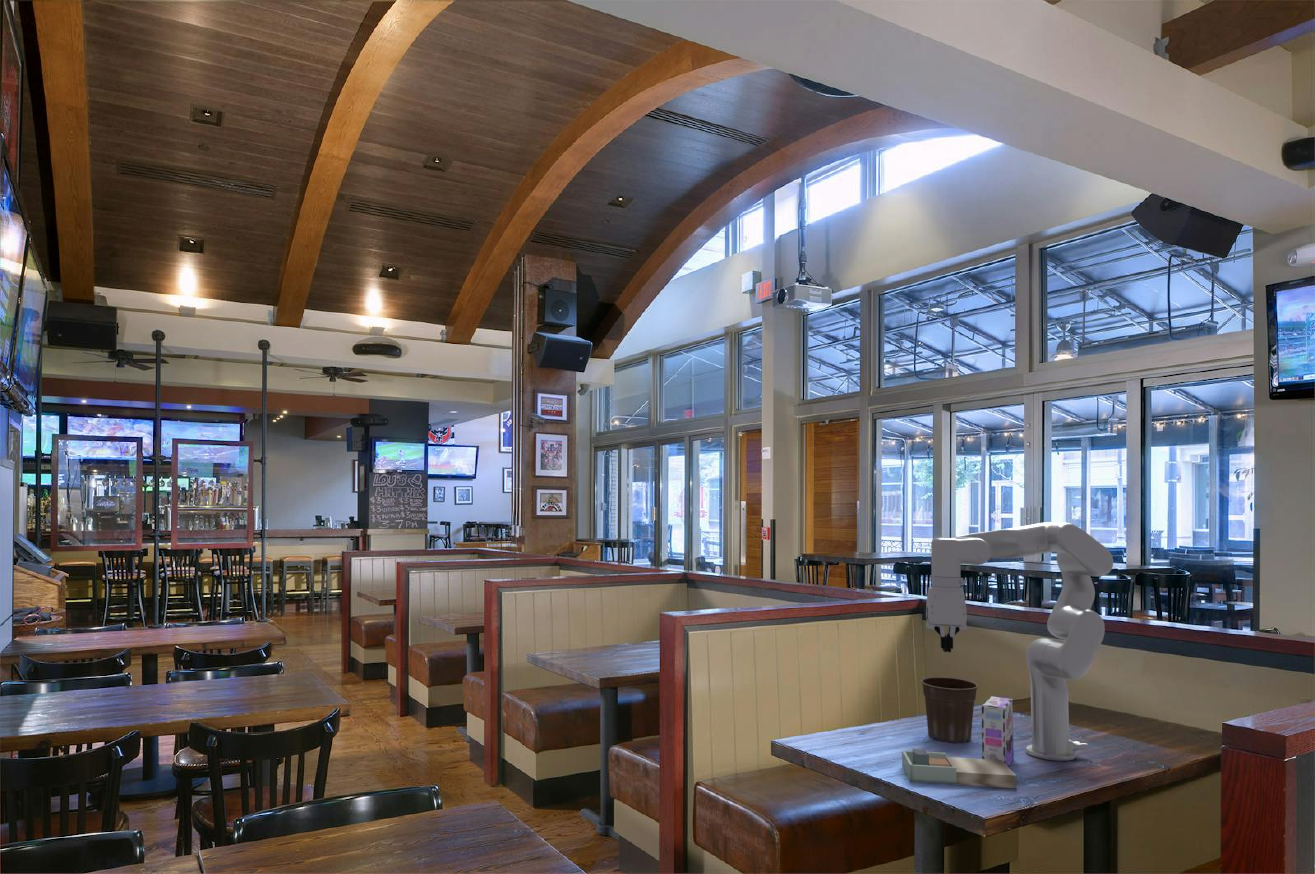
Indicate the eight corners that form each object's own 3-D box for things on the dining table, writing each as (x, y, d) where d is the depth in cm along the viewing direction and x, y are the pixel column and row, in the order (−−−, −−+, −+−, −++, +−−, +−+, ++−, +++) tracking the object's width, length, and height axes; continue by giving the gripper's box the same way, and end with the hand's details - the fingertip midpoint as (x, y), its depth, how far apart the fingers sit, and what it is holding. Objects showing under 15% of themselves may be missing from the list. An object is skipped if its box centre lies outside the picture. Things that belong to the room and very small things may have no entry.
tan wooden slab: (1001, 771, 217) (1001, 759, 218) (1016, 787, 205) (1015, 775, 205) (945, 768, 219) (945, 756, 220) (956, 784, 206) (956, 771, 207)
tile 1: (924, 749, 217) (912, 748, 217) (928, 754, 212) (916, 754, 212) (924, 769, 216) (912, 768, 217) (929, 775, 211) (916, 774, 212)
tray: (945, 768, 219) (945, 752, 220) (956, 784, 206) (956, 767, 207) (902, 765, 221) (902, 750, 221) (910, 781, 208) (910, 765, 208)
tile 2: (945, 770, 215) (945, 758, 216) (950, 776, 210) (950, 764, 211) (925, 769, 216) (925, 757, 216) (929, 775, 211) (929, 763, 211)
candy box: (1005, 772, 217) (1004, 707, 218) (981, 768, 220) (980, 704, 221) (1014, 759, 229) (1013, 697, 230) (991, 755, 232) (990, 694, 233)
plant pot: (987, 746, 242) (986, 688, 243) (930, 744, 242) (930, 687, 243) (967, 731, 258) (967, 677, 259) (914, 729, 258) (914, 676, 259)
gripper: (971, 582, 233) (972, 650, 231) (915, 581, 235) (916, 648, 233) (977, 585, 225) (978, 654, 224) (920, 583, 227) (920, 652, 226)
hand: (946, 651), depth 228 cm, fingers closed
